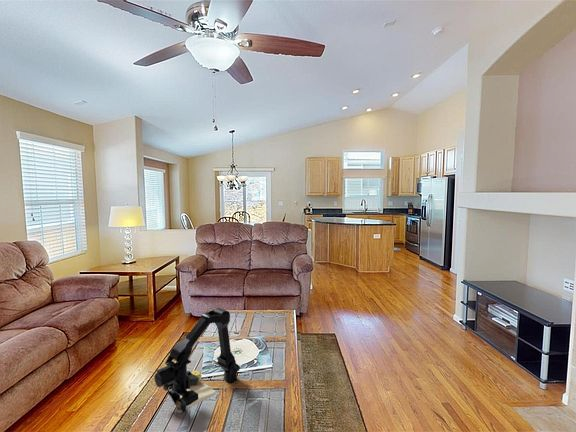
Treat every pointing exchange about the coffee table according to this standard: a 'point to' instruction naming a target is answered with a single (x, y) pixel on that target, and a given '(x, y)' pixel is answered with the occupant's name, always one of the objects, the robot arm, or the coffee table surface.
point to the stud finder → (196, 375)
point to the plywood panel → (201, 392)
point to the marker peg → (178, 406)
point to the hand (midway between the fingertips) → (180, 409)
